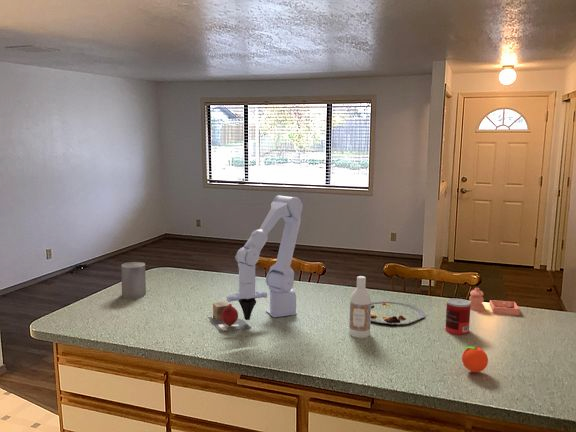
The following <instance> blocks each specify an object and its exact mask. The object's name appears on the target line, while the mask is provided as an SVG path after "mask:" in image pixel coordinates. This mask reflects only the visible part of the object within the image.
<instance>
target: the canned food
mask: <svg viewBox="0 0 576 432" xmlns="http://www.w3.org/2000/svg"><path fill="white" fill-rule="evenodd" d="M470 302H471V301H470V300H467V299H465V298H464V299H463V298H457V297H456V298H449V299H447V300H446V310H445V311H446V312H445V313H446V314H445V331H446V332H447V333H448V334H452V335H456V336H464V335H467V334H468V333H470V321H471V320H470V318H471V317H470V316H471V310H470Z"/></svg>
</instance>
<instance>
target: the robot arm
mask: <svg viewBox="0 0 576 432" xmlns="http://www.w3.org/2000/svg"><path fill="white" fill-rule="evenodd" d="M303 207H304V205H303V202H302V201H301V199H300V198H299V197H297V196H286V195H276V196H275V197H274V198H273V201H272V202H271V204H270V210H269V211H268V213H267V214H266V217H265V218H264V220H263V222H262V224H261V225H260V227H259V229H255V230H253V231H252V232H251V233H250V237H249V238H248V239H247V241H246V242H245V244H244V245H243V247H240V248H239V249H238V250H237V252H236V254H235V256H234V257H235V261H236V263H237V267H238V292H237V293H236V292H235V293H234V294H233V293H231V294H227V295H226V302H227V303H232V302H237V301H238V303H239V305H240V307H241V309H242V310H241V311H242V313H243V316H244V317H243V320H244V321H249V320H251V316H252V312H253V310H254V308H255V306H256V305H257V300H256V299H267V298H268V292H267V291H265V290H263V291H261V290H260V291H256V264H257V263H258V262H259V260H260V254H261V250H262V249H264V248H263V247H264V246H265V245H266V243H267V242H268V240H269V237H268V234H269V233H270V232H271V230H272V229H273V228H274V226H275V225H276V223H278V221H279V220H280V219H281V218H282V219H283V221H284V223H285V224H284V228H283V232H282V236H281V240H280V244H279V249H278V253H277V258H276V261H275V263H274V264H273V265H271V266H270V268H269V271H268V272H267V274H266V277H265V284H266V285H267V286H268V289H269V309H266V310H265V312H266V313H268V314H269V315H270V316H272V318H279V317H287V316H294V315H297V314H298V313H297V294H296V291H295V289H293V287H294V284H295V280H294V277H295V271H294V270H293V269H292V267H291V265H292V261H293V256H294V251H295V248H296V243H297V239H298V234H299V231H300V230H299V229H300V226H301V222H302V211H303Z"/></svg>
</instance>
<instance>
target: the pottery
mask: <svg viewBox="0 0 576 432" xmlns="http://www.w3.org/2000/svg"><path fill="white" fill-rule="evenodd" d="M469 294H470V296H468V297H469V299H468V301H469V302H470V311H476V312H483V311H485V310H486V308H485V306H484V304H483V303H484V301H485V300H484V299H485V298H484V297H483V296H484V292H483V291H482V290H480V288H479V287H475V288H474V289H471V291H469ZM489 306H490V308H491V311H492V313H493V314H498V315H508V316H511V315H512V316H520V313H521V309H520V307H519V305H517V303H516V302H515V301H508V300H495V299H494V300H493V299H492V300H491V299H490V300H489Z"/></svg>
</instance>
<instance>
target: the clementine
mask: <svg viewBox="0 0 576 432" xmlns="http://www.w3.org/2000/svg"><path fill="white" fill-rule="evenodd" d="M463 350H464V351H463ZM461 351H463V353H462V356H461V361H462V364H463V366H464V367H465V369H466V370H468V371H469V372H474V373H480V372H483V371H484V370H485V369H486V368H487V366H488V364H489V357H488V355H487V353H486V352H485V351H484V350H483V349H482V348H480V347H478V346H465V347H462V348H461V349H460V350H459V351H458V353H460V352H461Z"/></svg>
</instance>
